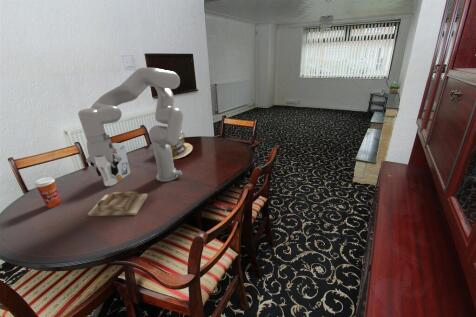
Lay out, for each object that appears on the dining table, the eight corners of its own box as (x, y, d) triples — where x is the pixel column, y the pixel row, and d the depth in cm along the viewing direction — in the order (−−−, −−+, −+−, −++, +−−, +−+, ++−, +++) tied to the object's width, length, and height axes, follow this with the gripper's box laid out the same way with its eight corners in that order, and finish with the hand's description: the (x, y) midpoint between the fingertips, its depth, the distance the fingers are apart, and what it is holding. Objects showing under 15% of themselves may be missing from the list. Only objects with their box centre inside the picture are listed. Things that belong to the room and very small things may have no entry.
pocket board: (147, 195, 124) (146, 189, 122) (135, 214, 109) (134, 208, 108) (105, 196, 124) (104, 190, 122) (88, 216, 109) (86, 209, 108)
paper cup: (48, 211, 113) (37, 186, 108) (41, 206, 117) (30, 181, 111) (66, 202, 119) (57, 178, 114) (59, 198, 123) (49, 174, 117)
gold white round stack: (172, 163, 160) (168, 139, 153) (152, 154, 175) (148, 132, 168) (199, 151, 177) (197, 130, 170) (179, 144, 192) (176, 124, 185)
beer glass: (106, 179, 113) (97, 151, 107) (121, 178, 114) (113, 150, 107) (100, 187, 107) (89, 157, 100) (116, 186, 107) (106, 156, 101)
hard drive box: (114, 185, 134) (105, 153, 126) (103, 184, 136) (93, 152, 127) (131, 172, 148) (124, 143, 140) (120, 171, 150) (112, 142, 141)
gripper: (120, 134, 104) (130, 169, 112) (82, 135, 104) (94, 171, 112) (112, 140, 97) (123, 177, 105) (71, 142, 97) (85, 179, 105)
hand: (108, 174), depth 108 cm, fingers closed on beer glass, 6 cm apart
